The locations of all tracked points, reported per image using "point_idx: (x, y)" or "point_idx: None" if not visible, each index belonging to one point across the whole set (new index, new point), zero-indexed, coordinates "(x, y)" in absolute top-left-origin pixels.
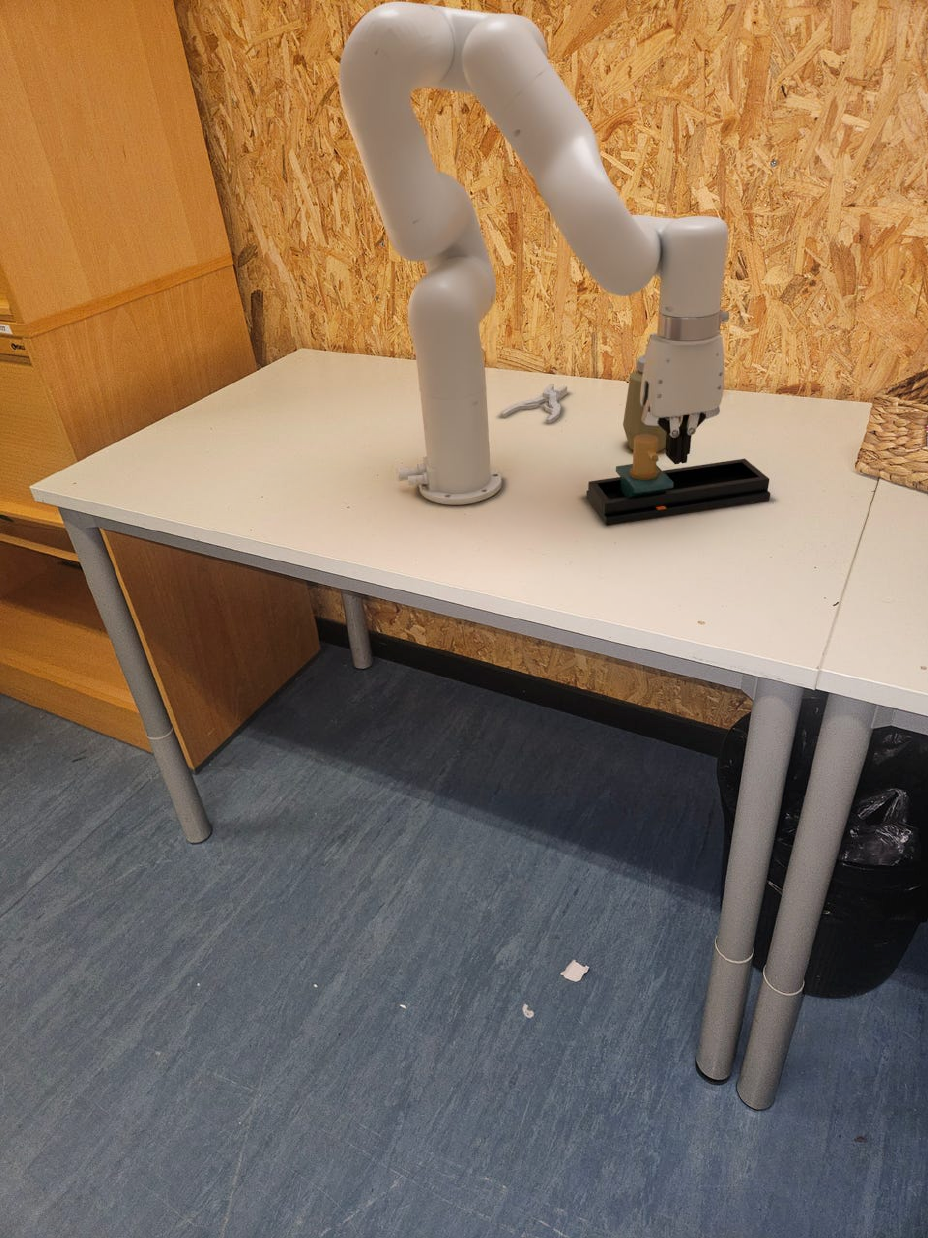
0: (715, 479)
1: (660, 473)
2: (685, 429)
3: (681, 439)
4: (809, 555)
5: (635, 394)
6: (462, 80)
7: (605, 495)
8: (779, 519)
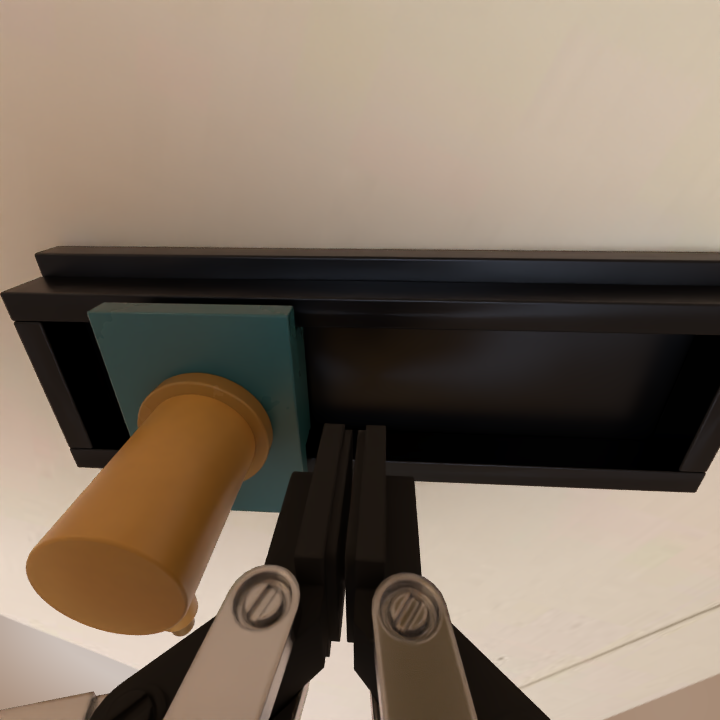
0: (569, 332)
1: (281, 441)
2: (366, 680)
3: (330, 642)
4: (522, 636)
5: None
6: None
7: (78, 422)
8: (580, 533)
